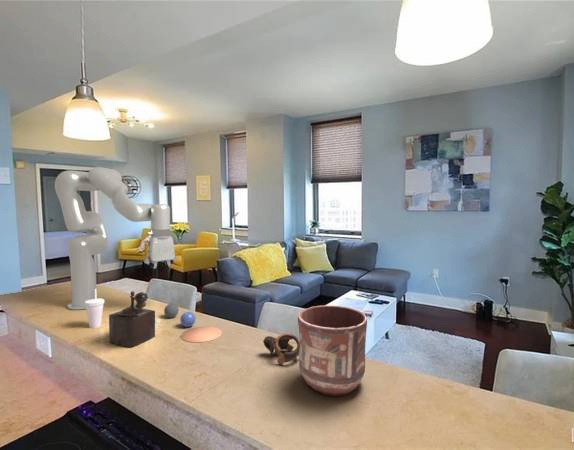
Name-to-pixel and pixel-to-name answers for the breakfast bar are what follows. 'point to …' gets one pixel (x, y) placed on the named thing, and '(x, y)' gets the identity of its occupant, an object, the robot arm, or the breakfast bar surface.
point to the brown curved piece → (282, 347)
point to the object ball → (188, 319)
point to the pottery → (332, 348)
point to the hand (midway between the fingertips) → (161, 276)
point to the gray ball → (171, 310)
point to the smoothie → (94, 311)
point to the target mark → (201, 334)
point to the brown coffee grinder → (132, 323)
